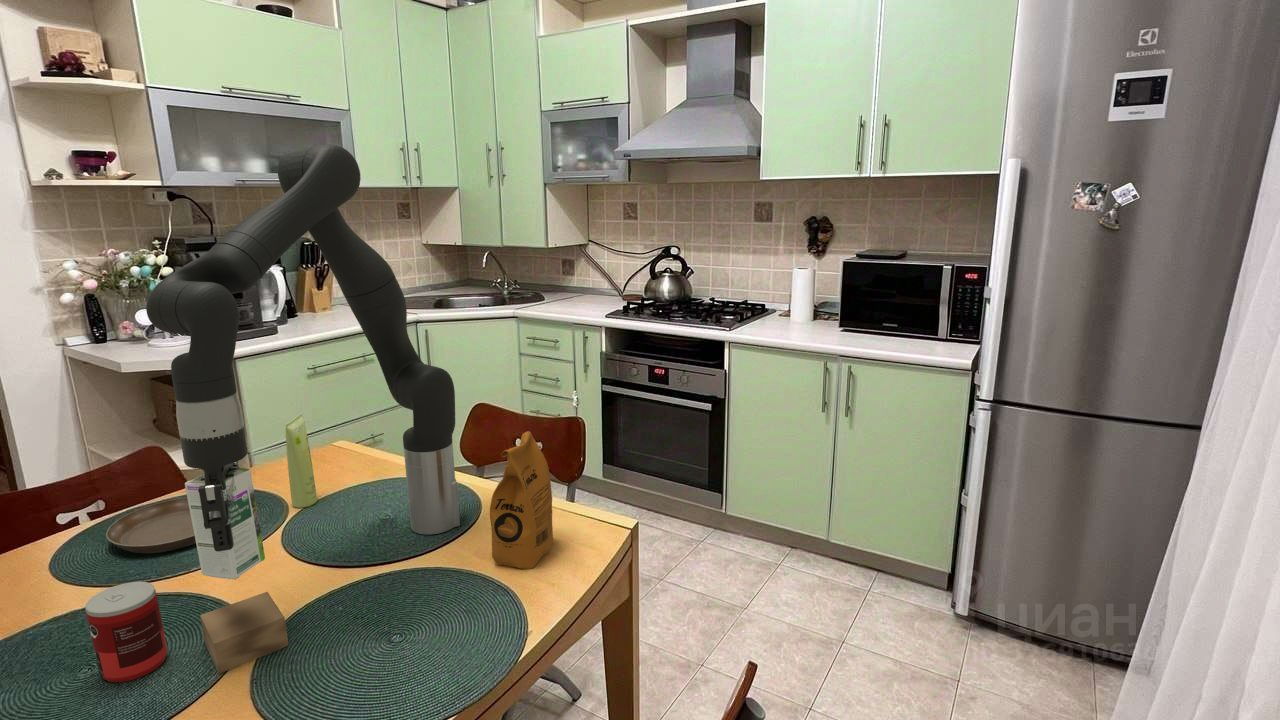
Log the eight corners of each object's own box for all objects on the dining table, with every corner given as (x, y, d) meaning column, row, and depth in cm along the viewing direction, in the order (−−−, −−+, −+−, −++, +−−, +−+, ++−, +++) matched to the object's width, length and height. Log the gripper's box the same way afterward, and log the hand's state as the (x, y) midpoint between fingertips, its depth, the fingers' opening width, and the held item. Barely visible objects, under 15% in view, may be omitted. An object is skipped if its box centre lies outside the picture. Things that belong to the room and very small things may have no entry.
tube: (322, 504, 145) (311, 418, 140) (297, 511, 142) (285, 424, 137) (312, 496, 149) (302, 412, 144) (288, 503, 146) (276, 417, 141)
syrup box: (236, 580, 93) (220, 484, 90) (199, 576, 94) (183, 480, 91) (266, 559, 99) (252, 467, 95) (231, 555, 100) (217, 464, 96)
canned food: (123, 649, 98) (108, 582, 96) (180, 646, 99) (167, 579, 97) (85, 685, 91) (69, 614, 88) (147, 682, 92) (133, 611, 89)
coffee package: (483, 565, 120) (475, 450, 115) (514, 533, 132) (508, 427, 127) (534, 574, 118) (528, 456, 113) (561, 540, 129) (557, 432, 124)
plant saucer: (257, 522, 137) (255, 508, 137) (147, 571, 120) (143, 554, 119) (197, 502, 147) (195, 488, 146) (86, 544, 129) (83, 529, 128)
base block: (271, 619, 106) (267, 591, 105) (288, 646, 99) (284, 617, 98) (205, 644, 100) (200, 615, 99) (219, 675, 93) (213, 644, 92)
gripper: (235, 440, 87) (252, 554, 90) (250, 409, 99) (265, 510, 103) (166, 448, 84) (187, 566, 88) (191, 415, 97) (208, 519, 100)
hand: (229, 535), depth 95 cm, fingers closed on syrup box, 7 cm apart
